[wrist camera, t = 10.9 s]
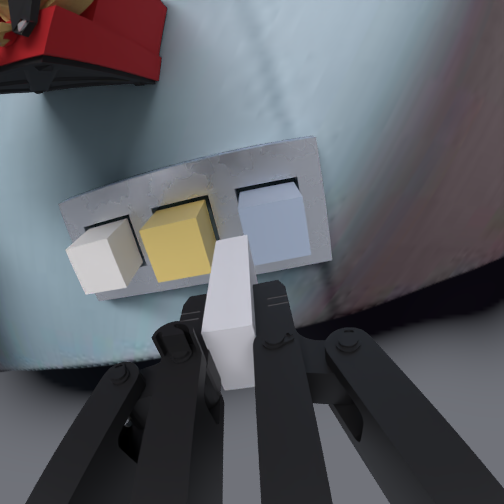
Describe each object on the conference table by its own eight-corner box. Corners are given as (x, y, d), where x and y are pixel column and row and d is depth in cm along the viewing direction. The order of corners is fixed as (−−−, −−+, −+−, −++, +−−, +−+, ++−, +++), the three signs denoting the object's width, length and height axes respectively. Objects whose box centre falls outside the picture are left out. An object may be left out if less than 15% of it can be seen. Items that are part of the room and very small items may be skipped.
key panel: (105, 291, 34) (99, 301, 32) (67, 198, 29) (58, 204, 27) (327, 251, 32) (332, 260, 30) (311, 135, 26) (315, 137, 25)
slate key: (251, 240, 29) (251, 266, 24) (239, 192, 27) (237, 209, 22) (301, 231, 28) (311, 254, 24) (293, 181, 26) (302, 196, 22)
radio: (179, -8, 20) (90, -128, 2) (163, 87, 24) (15, 61, 6) (46, 13, 19) (-88, -14, 1) (33, 95, 23) (-117, 121, 5)
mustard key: (171, 256, 30) (158, 282, 25) (156, 211, 28) (139, 230, 23) (217, 247, 29) (212, 273, 25) (205, 199, 27) (195, 217, 23)
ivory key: (105, 269, 30) (85, 294, 26) (88, 228, 28) (65, 249, 24) (143, 261, 30) (126, 287, 25) (127, 218, 28) (106, 238, 23)
